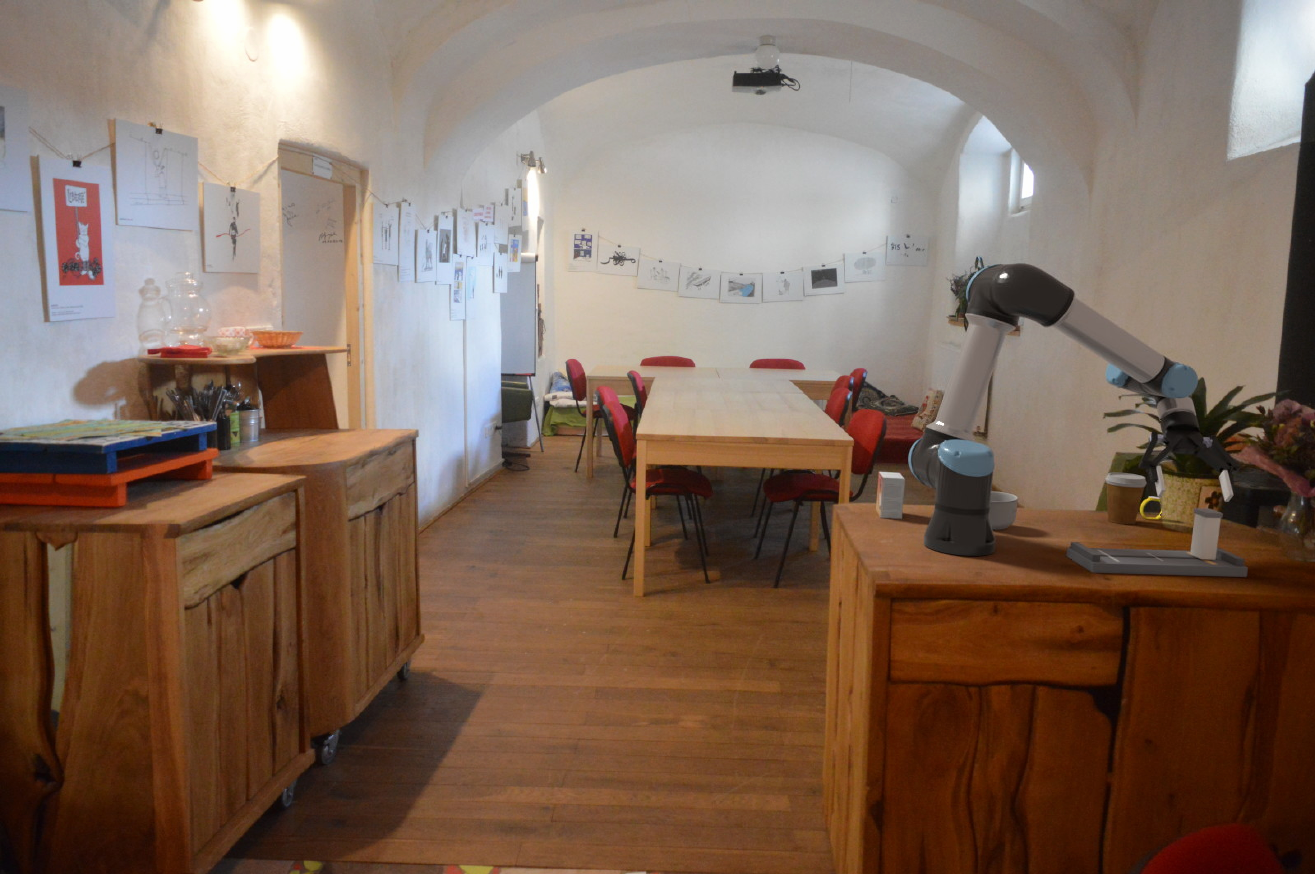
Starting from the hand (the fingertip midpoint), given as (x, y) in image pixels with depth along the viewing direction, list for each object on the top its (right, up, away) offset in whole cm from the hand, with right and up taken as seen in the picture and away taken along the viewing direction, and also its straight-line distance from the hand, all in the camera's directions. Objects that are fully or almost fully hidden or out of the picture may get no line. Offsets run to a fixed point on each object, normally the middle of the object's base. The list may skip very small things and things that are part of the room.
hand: (1195, 496), depth 200 cm
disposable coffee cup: (+2, -9, +35) cm, 36 cm away
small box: (-58, -7, +34) cm, 68 cm away
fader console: (-12, -15, -6) cm, 20 cm away
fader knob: (-2, -12, -6) cm, 14 cm away
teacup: (-35, -9, +27) cm, 45 cm away
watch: (+12, -9, +39) cm, 42 cm away
